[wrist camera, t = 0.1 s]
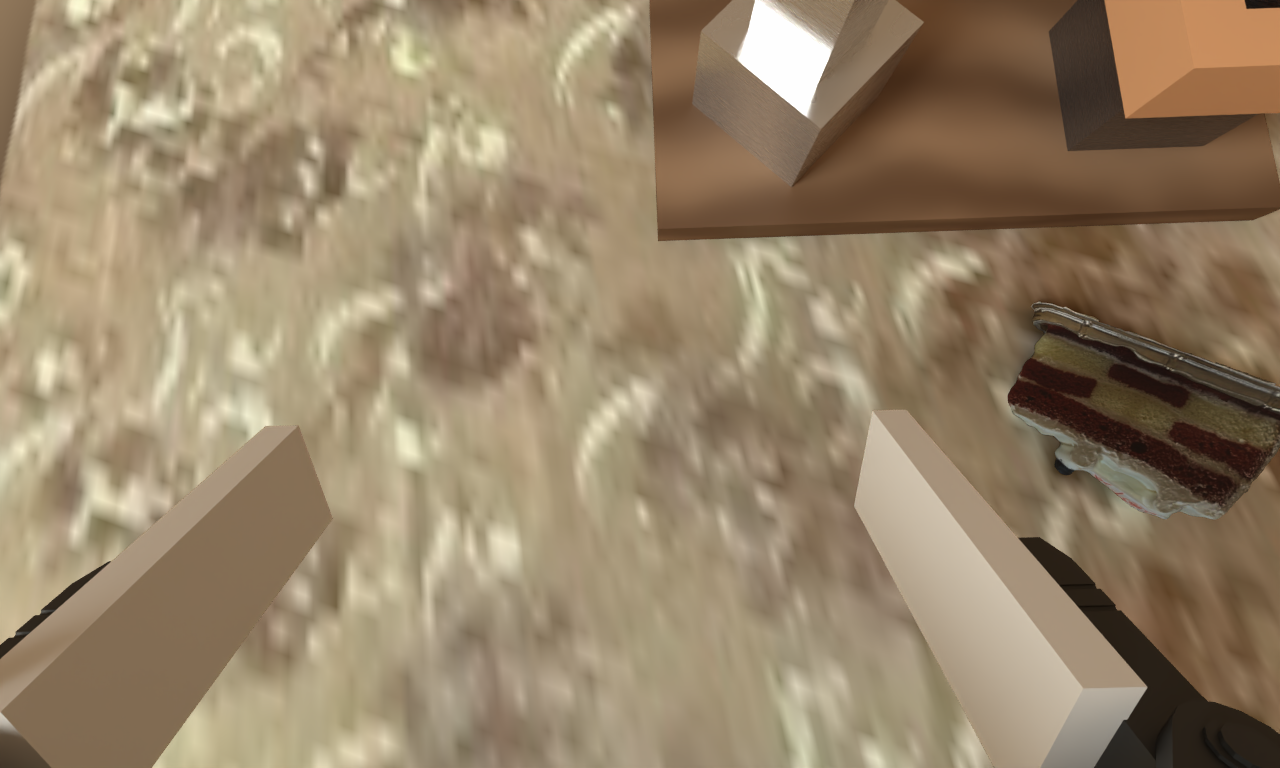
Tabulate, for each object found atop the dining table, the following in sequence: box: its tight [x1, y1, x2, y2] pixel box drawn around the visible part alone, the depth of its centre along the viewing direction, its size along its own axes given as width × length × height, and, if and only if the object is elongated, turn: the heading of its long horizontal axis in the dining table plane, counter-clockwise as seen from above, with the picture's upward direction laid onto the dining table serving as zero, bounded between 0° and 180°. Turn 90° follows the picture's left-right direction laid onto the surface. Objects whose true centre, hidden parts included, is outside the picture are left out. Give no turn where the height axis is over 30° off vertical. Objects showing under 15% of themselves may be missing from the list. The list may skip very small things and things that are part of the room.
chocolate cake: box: [1008, 301, 1280, 519], centre depth 27 cm, size 10×7×12 cm
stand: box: [1049, 0, 1280, 151], centre depth 24 cm, size 7×7×11 cm
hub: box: [692, 0, 924, 187], centre depth 24 cm, size 7×7×11 cm
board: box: [650, 0, 1280, 241], centre depth 30 cm, size 14×32×2 cm, turn 92°
